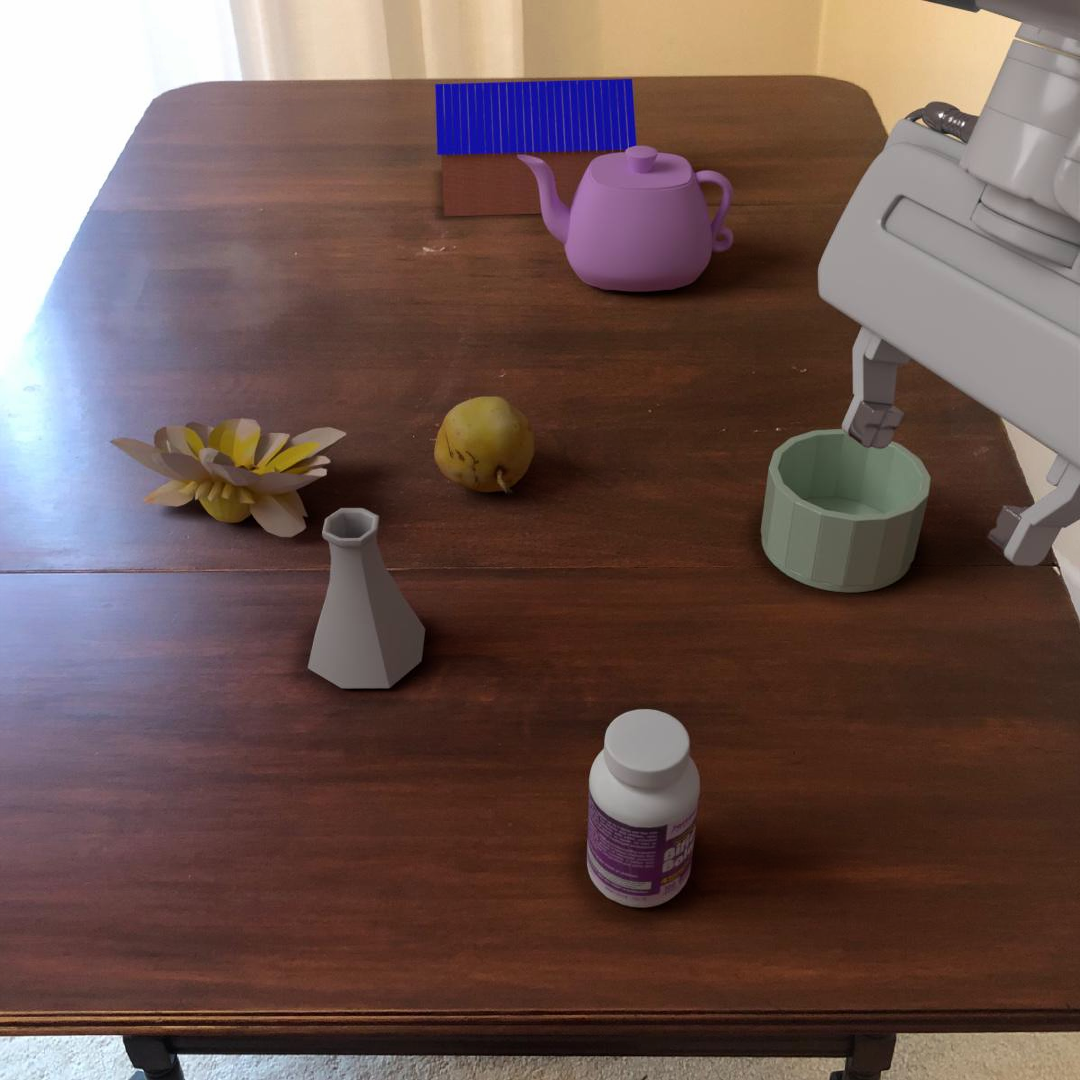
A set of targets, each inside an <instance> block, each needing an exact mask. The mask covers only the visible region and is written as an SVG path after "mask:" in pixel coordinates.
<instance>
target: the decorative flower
mask: <svg viewBox="0 0 1080 1080" xmlns="http://www.w3.org/2000/svg"><path fill="white" fill-rule="evenodd" d="M155 431H156V432H155V433H154V436H153V444H154V445H152V444H149V443H147V442H144V441H142V440H139V439H136V438H132V437H131V438H130V437H122V436H120V437H117V438H114V439H111V440H110V441H109V443H110V444H112V445H113V446H115V447H116V448H118V449H120V450H121V452H124V453H125V454H126V455H128V456H129V457H131V458H132V459H133V460H135V461H136V462H138V463H139V464H141V465H143V466H144V467H146V468H148V469H150V470H151V471H154V472H156V473H158V474H160V475H162V476H165V477H167V478H170V479H172V480H170V481H168V482H166V483H164V484H163V485H162V486H160V487H158V488H156V489H155V490H154V491H152V492H151V493H150V494H148V495H146V496H145V498H143V500H142V503H146V504H150V505H151V504H152V505H161V506H168V507H180V506H184V505H186V504H188V503H189V502H191V501H192V500H193V499H195V501H198V500H199V502H200V504H201V505H202V507H203V508H204V509H205V511H206V512H207V513H208V514H209V515H210V516H211V517H212V518H214V520H217V521H218V522H221V523H232V524H233V523H241V522H242V521H245V519H247V518H249V517H250V516H251V515H252V516H253V518H254V519H255V521H256V522H257V523H258V524H259V525H260V526H261V527H262V528H263V529H264V530H265V531H266V532H267V533H269V534H272V535H275V536H277V537H280V538H292V537H294V536H296V535H298V534H299V533H301V532H303V531H304V530H305V529H307V525H306V521H305V519H304V517H306V518H308V517H309V516H308V513H307V511H306V509H305V506H304V504H303V501H302V499H301V497H300V495H299V493H298V491H297V490H298V489H302V488H303V487H304V488H305V486H307V485H309V484H311V483H313V482H314V481H315V482H316V481H317V480H319V479H321V478H323V477H325V476H327V474H328V473H327V472H328V469H327V468H323V467H325V466H327V465H328V464H330V463H331V459H329V458H328V457H327V456H325V455H324V454H325V453H327V452H328V451H330V449H332V448H333V447H334V446H336V444H337V443H338V442H339V441H341V440H342V439H343V438H344V437H345V436H347V432H345V431H343V430H340V429H337V428H333V427H330V426H326V427H315V428H313V429H310V430H308V431H305V432H302V433H300V434H297V435H296V436H294V437H293V438H292V439H290V440H289V438H290V436H291V434H290V433H284V432H269V433H265V434H262V435H261V426H260V425H259V423H258V422H257V420H256V419H251V418H243V417H240V418H229V419H226V420H224V421H222V422H220V423H219V424H218V425H216V426H215V427H212V426H210V425H205V424H202V423H199V422H196V421H190V422H187V423H186V424H185V426H184V425H181V424H177V425H167V426H166V425H165V426H163V427H160V428H159V429H157V430H155ZM288 440H289V441H288ZM194 497H195V498H194Z"/></svg>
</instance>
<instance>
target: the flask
mask: <svg viewBox="0 0 1080 1080" xmlns="http://www.w3.org/2000/svg"><path fill="white" fill-rule="evenodd" d="M379 523H380V515H378V514H376V513H373V512H372V511H370V510H368V509H366V508H363V507H340V508H339V509H338V510H336V511H335V512H333V513H331V514H330V515H329V516H327V517H326V518H325V519H324V523H323V527H322V530H321V531H322V532H321V536H322V538H323V539H324V541H327V542H328V546H329V552H330V569H329V583H328V586H327V591H326V594H325V599H324V603H323V605H322V608H321V612H320V615H319V619H318V622H317V626H316V629H315V633H314V638H313V641H312V646H311V651H310V655H309V659H308V660H309V661H308V664H307V669H308V670H310V671H312V672H313V673H315V674H316V675H318V676H320V677H322V678H323V679H325V680H327V681H328V682H330V683H332V684H333V685H335V686H337V687H338V688H340V689H390V688H392V687H393V686H394V685H395V684H396V683H398V682H399V681H400V680H401V679H402V678H404V677H405V676H406V675H407V674H409V672H410V671H412V670H413V669H414V668H415V667H417V666H418V665H419V664H420V663H421V662H422V661H423V652H424V643H425V634H426V628H425V627H424V625H423V623H422V621H421V620H420V618H419V617H418V616H417V614H416V613H415V611H414V610H413V608H412V607H411V606H410V604H409V602H408V601H407V599H406V598H405V596H404V595H403V594H402V592H401V590H400V588H399V587H398V585H397V584H396V582H395V580H394V578H393V577H392V575H391V574H390V572H389V570H388V569H387V566H386V565H385V563H384V559H383V557H382V554H381V552H380V548H379V546H378V541H377V539H378V538H377V535H378V529H379Z"/></svg>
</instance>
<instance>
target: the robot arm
mask: <svg viewBox="0 0 1080 1080" xmlns="http://www.w3.org/2000/svg"><path fill="white" fill-rule="evenodd" d="M922 1H924V2H927V3H932V4H936V5H941V6H944V7H945V6H946V7H950V8H953V9H958V10H962V11H967V12H970V13H974V14H977V13H979V12H980V11H981V10H983V11H986V12H988V13H992V14H995V15H998V16H1001V17H1004V18H1006V19H1010V20H1013V21H1016V22H1020V24H1019V27H1018V28H1017V31H1016V32H1015V34H1014V38H1013V39H1012V41H1011V44H1010V45H1009V48H1008V50H1007V53H1006V55H1005V58H1004V60H1003V62H1002V65H1001V67H1000V69H999V71H998V73H997V75H996V78H995V80H994V82H993V85H992V87H991V90H990V92H989V94H988V96H987V98H986V100H985V103H984V104H983V107H982V109H981V111H980V113H979V115H975V114H971V113H967V112H964V111H961V110H960V109H959V108H958V107H957V106H955V105H953V104H951V103H949V102H945V101H938V100H937V101H930V102H928V103H927V104H926V105H925V106H924V107H921V108H917V109H915V110H913V111H911V112H910V113H908V114H907V115H906V116H905V117H904V118H900V119H899V120H898V121H897V122H896V123H895V124H894V126H893V127H892V129H891V131H890V133H889V135H888V137H887V139H886V143H885V146H884V147H883V150H882V151H881V152H880V153H879V154H878V155H877V156H876V158H874V160H873V161H872V162H871V163H870V165H869V167H868V168H867V170H866V171H865V172H864V175H863V176H862V178H861V180H860V181H859V183H858V184H857V187H856V188H855V190H854V191H853V194H852V195H851V197H850V199H849V201H848V203H847V204H846V206H845V208H844V210H843V212H842V214H841V216H840V218H839V220H838V222H837V224H836V226H835V228H834V230H833V233H832V235H831V236H830V238H829V241H828V242H827V245H826V247H825V249H824V251H823V254H822V255H821V258H820V261H819V264H818V267H817V291H818V296H819V297H820V299H822V301H823V302H825V303H826V304H828V305H829V306H831V307H832V308H834V309H836V310H838V312H840V313H841V314H843V315H845V316H846V317H848V318H849V319H851V320H852V321H854V322H855V323H857V324H859V325H860V326H861V327H860V330H859V332H858V334H857V336H856V339H855V341H854V344H853V346H852V351H851V353H852V394H853V395H854V396H853V398H852V400H851V402H850V405H849V407H848V409H847V411H846V414H845V416H844V419H843V420H842V423H841V429H842V430H843V431H844V432H845V433H846V434H847V435H848V436H850V437H852V438H853V439H854V440H856V441H857V442H858V443H860V444H861V445H863V446H864V447H867V448H870V447H874V448H877V449H883V448H885V447H887V446H888V445H889V444H890V443H891V442H892V441H893V439H894V437H895V430H897V429H898V428H899V427H900V425H901V423H902V420H903V418H904V416H905V413H904V412H903V411H902V410H901V409H899V408H897V406H895V397H896V388H897V387H896V386H897V375H898V368H899V367H898V366H899V365H902V366H903V365H904V366H906V365H909V363H910V361H911V360H914V361H915V362H916V363H918V364H919V365H921V366H923V368H926V369H927V370H928V371H930V372H932V373H933V374H935V375H936V376H938V377H939V378H941V379H942V380H943V381H945V382H947V383H948V384H950V385H952V387H954V388H956V389H957V390H959V391H960V392H962V393H964V394H965V395H967V396H968V397H969V398H971V399H973V400H974V401H976V402H977V403H979V404H980V405H982V406H983V407H984V408H986V409H988V410H989V411H991V412H993V413H994V414H995V415H997V416H999V417H1000V418H1001V419H1003V420H1004V421H1006V422H1007V423H1009V424H1011V425H1012V426H1014V427H1016V428H1017V429H1019V430H1020V431H1021V432H1022V433H1025V434H1026V435H1027V436H1029V437H1031V438H1032V439H1033V440H1035V441H1037V442H1038V443H1040V444H1041V445H1042V446H1044V447H1045V448H1047V449H1049V450H1050V451H1052V452H1053V453H1054V454H1056V457H1055V459H1054V461H1053V463H1052V464H1051V467H1050V468H1049V470H1048V472H1047V474H1046V476H1045V479H1046V482H1047V483H1049V484H1050V485H1052V486H1053V487H1055V489H1053V490H1052V491H1050V492H1049V493H1048V494H1046V495H1045V496H1043V497H1042V498H1040V499H1039V500H1038V501H1036V502H1035V503H1034V504H1032V505H1031V506H1023V507H1020V506H1018V505H1009V504H1008V505H1005V504H1004V505H1003V506H1002V508H1001V509H1000V511H999V514H998V516H997V518H996V519H995V527H993V528H992V529H991V530H989V533H988V535H987V537H986V538H987V539H986V541H987V543H988V546H990V547H991V548H992V549H994V550H995V551H996V552H998V553H999V554H1000V555H1001V556H1002V557H1004V558H1005V559H1006V560H1008V561H1009V562H1010V563H1011V564H1013V565H1014V566H1024V567H1025V566H1026V567H1035V566H1038V565H1039V564H1040V563H1042V562H1043V561H1044V560H1045V559H1046V557H1047V555H1048V553H1049V552H1050V549H1051V548H1052V546H1053V545H1054V542H1055V541H1056V539H1057V537H1058V535H1059V534H1060V532H1061V530H1062V529H1065V528H1068V527H1069V526H1071V525H1072V524H1075V523H1076V522H1078V521H1080V0H922ZM1018 39H1019V40H1018ZM918 120H922V122H923V123H924V124H922V123H920V122H918ZM950 135H951V136H950Z"/></svg>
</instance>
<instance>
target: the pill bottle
mask: <svg viewBox="0 0 1080 1080" xmlns="http://www.w3.org/2000/svg"><path fill="white" fill-rule="evenodd" d="M603 744H604V745H603V749H602V750H601V751H600V752H599V753H598V755H596V758H595V759H594V761H593V763H592V764H591V768H590V770H589V771H590V772H589V776H588V777H589V778H588V815H587V845H586V866H587V872H588V875H589V878H590V879H591V881H592V883H593V885H594V886H595V887H596V888H597V889H598V890H599V891H600V892H601V894H603V895H604V896H605V897H606V898H607V899H609V900H611V901H613V902H616V903H618V904H620V905H623V906H626V907H630V908H642V909H645V908H651V907H657V906H659V905H662V904H664V903H667V902H669V901H670V900H671V899H674V898H675V896H677V895H678V894H679V893H680V892H681V891H682V889H683V888H684V887H685V885H686V884H687V882H688V879H689V877H690V873H691V868H692V861H693V854H694V848H695V847H694V846H695V837H696V828H697V827H696V826H697V820H698V808H699V800H700V795H701V781H700V779H701V778H700V774H699V770H698V768H697V765H696V763H695V762H694V760H693V758H692V757H691V756H690V751H691V739H690V735H689V733H688V730H687V729H686V727H685V726H684V725H683V723H681V721H679V720H678V719H677V718H675V717H674V716H672V715H671V714H669V713H667V712H663V711H660V710H657V709H652V708H651V709H650V708H639V709H633V710H630V711H626V712H624V713H622V714H620V715H619V716H617V717H615V718H614V719H613V720H612V722H610V724H609V725H608V727H607V728H606V731H605V735H604V743H603Z"/></svg>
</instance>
